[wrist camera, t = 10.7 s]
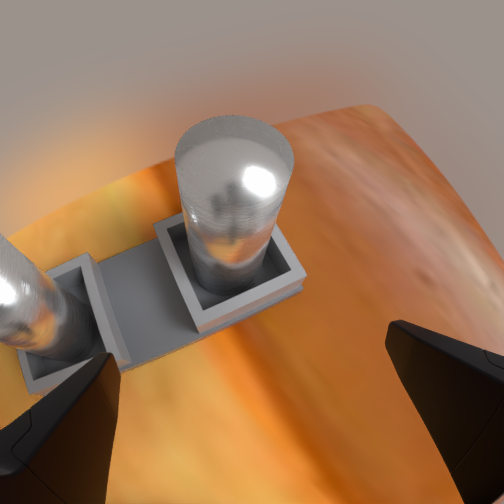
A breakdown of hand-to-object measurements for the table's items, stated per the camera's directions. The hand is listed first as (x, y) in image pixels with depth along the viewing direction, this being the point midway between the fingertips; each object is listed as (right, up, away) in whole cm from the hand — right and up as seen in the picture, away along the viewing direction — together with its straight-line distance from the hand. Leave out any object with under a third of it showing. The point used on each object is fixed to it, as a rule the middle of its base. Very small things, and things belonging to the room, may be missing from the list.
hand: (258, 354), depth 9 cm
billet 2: (-2, +2, +14) cm, 15 cm away
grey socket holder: (-8, -1, +13) cm, 16 cm away
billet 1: (-14, -3, +11) cm, 18 cm away
